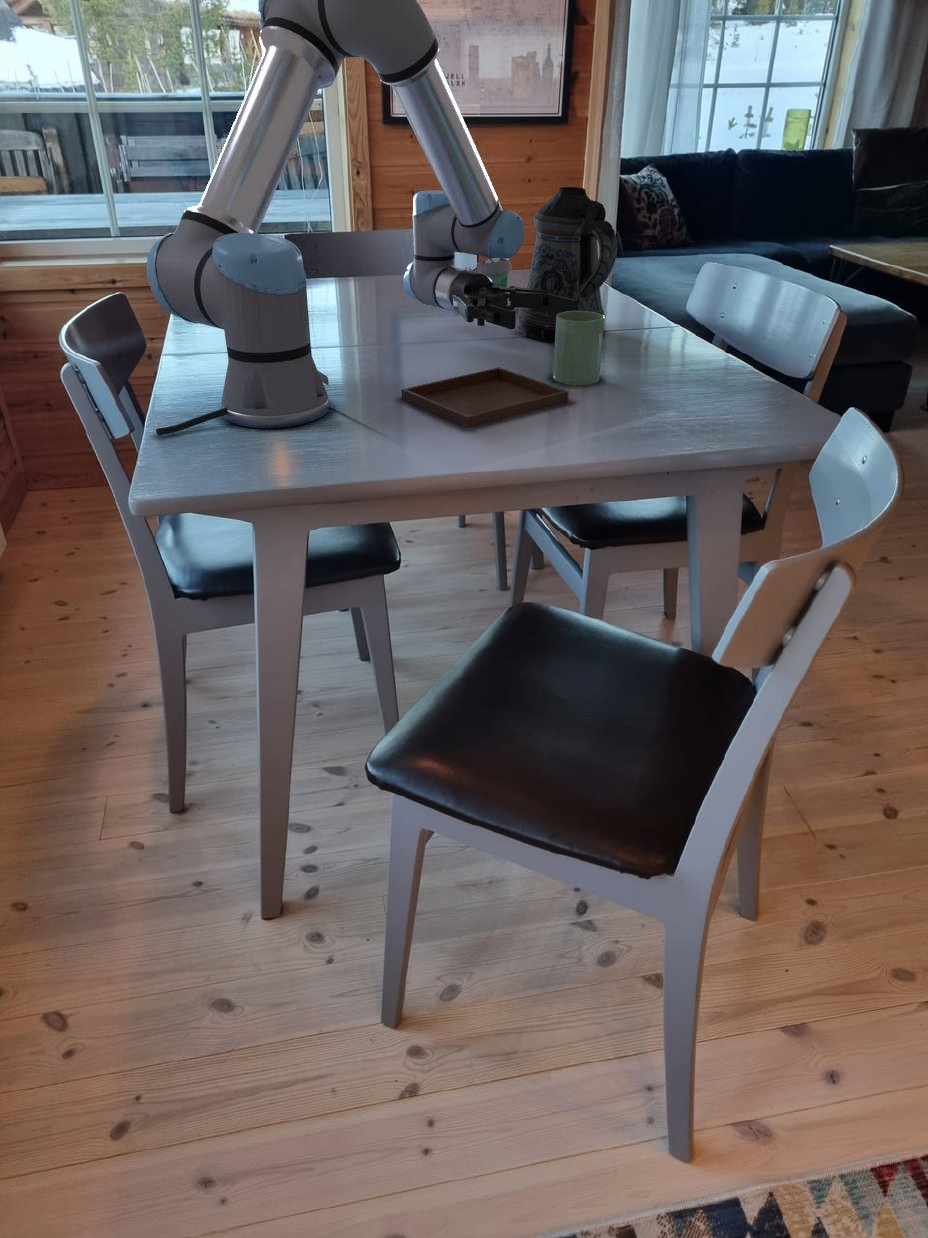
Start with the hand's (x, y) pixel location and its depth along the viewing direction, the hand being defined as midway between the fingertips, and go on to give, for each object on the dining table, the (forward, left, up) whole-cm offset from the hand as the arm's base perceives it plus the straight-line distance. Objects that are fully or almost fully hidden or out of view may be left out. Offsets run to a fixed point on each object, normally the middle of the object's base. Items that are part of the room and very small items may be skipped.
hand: (545, 314), depth 142 cm
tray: (-19, -8, -9) cm, 22 cm away
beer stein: (+20, +15, -9) cm, 27 cm away
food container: (+22, +39, -9) cm, 46 cm away
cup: (0, -8, -9) cm, 12 cm away
